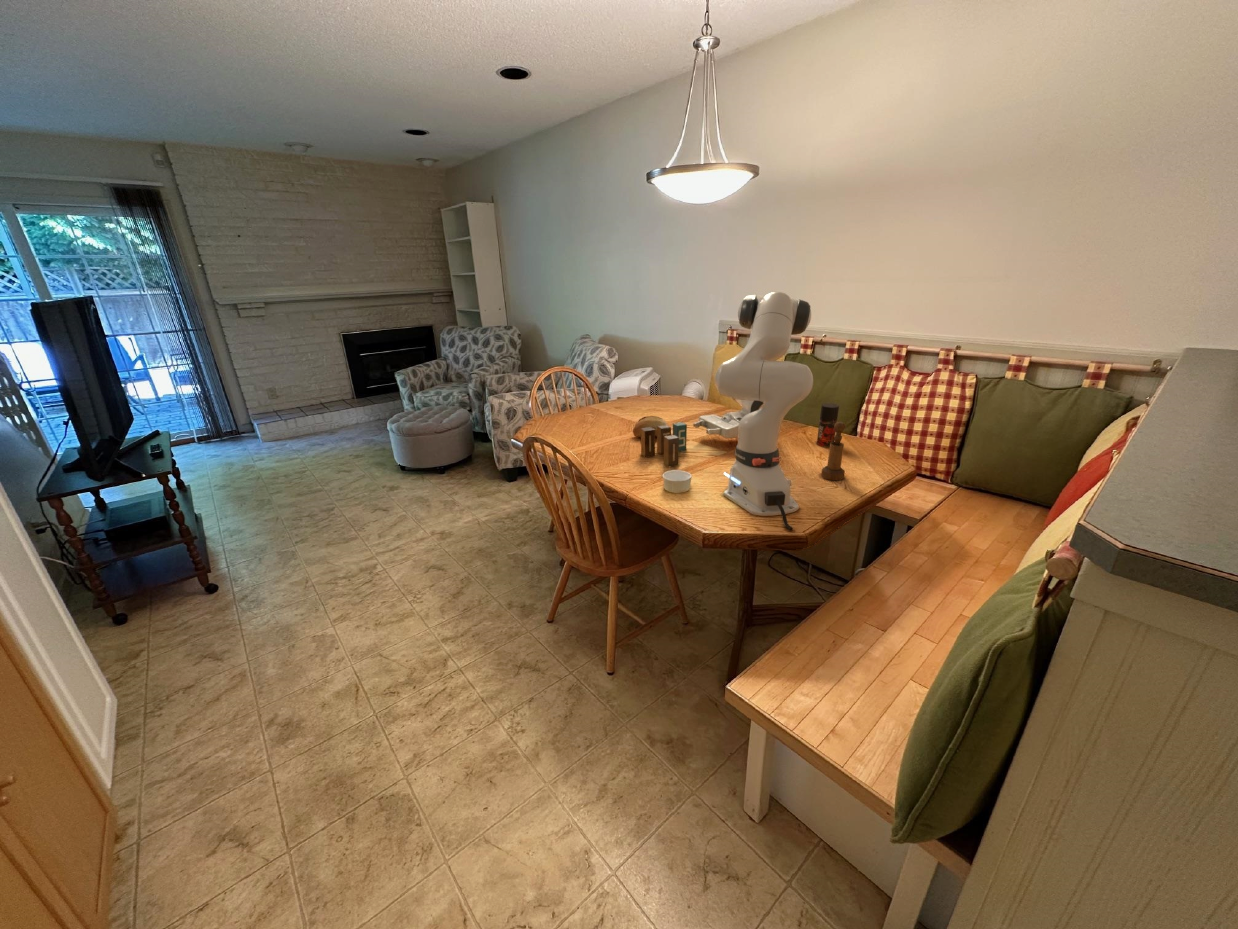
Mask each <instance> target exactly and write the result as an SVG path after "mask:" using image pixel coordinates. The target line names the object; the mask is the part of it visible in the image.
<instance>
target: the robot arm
mask: <svg viewBox="0 0 1238 929" xmlns="http://www.w3.org/2000/svg"><path fill="white" fill-rule="evenodd" d="M737 319H738V324H739V325H740V326H741V327H742V328H744V329H747V330H751V332H750V335H749V338H748V341H747V343H746V344H745V346H744V348H743V349H742V350H740V352H739V353H737V354H735V356H733V357H732V358H730V359H728V360H725V361H723V362H722V363H721V364H720V365H719V366H718V368H717V370H716V372H715V375H714V385H715V388H716V390H717V392H718V394H719V395H720V396H723V397H725V398H728V399H729V398H730V399H732V400H733V401H735V402H736V403H737V404H738V405H739V406H740V407H741V410H737V411H731V412H726V413H724V414H723V416H719V415H717V414H706V415H705V414H704V415H700V416H698V421H694V422H693V426H692V427H693V428H695V429H698V428H700V427H702V428H705V429H706V432H705V433H706V434H707V435H709V436H710V435H717V436H718V435H719V436H721V438H724V439H735V438H737V445H736V446H735V450H734V458H735V461H734V463H733V464H732V466H731V467H730V471H729V474H728V473H726V472H724V473H723V475H725V476H726V477H727V478H728V484H727V488H726V489H725V490H724V491H723V496H724V497H726V498H727V499H729V500H731V501H732V503H735V504H736V505H738V507H741V508H742V509H743V510H745V511H747V512H748V513H750V514H751V515H753V516H759V517H760V516H761V517H771V516H772V517H773V516H781V518H782V523H783V524H784V526H785V528H786V529H787V530H788V531H790V532H791V531H794V528H793V527H792V526H791V525H790V523H788V520H787V516H786V515H787V514H792V513H795V512H797V511H798V510H799V508H800V506H799V504H798V503H797V502H796V500H795V498H793V496H792V493H791V492H792V491H791V489H792V488H791V487H792V484H793V483H792V479H790V478H787V477H786V475H785V470H783V469H782V467H781V465H780V462H781V458H782V457H781V456H780V451H779V450H780V449H779V447H778V444H779V437H780V430H781V425H782V423H783V421H784V419H785V417H786V415H787V414H788V412H789V411H790V410H791V409H792V408H793V407H795V406H796V405H797V404H799V403H801V402H802V401H804V400H805V399H806V398H807V397H809V395H810V393H811V391H812V390H813V386H814V376H813V373H812V370H811V368H810V367H809V366H808V365H807V364H804V363H799V362H795V361H792V360H791V361H790V360H780V359H781V358H783V357H784V356H785V354H787V352H788V350H789V349H790V344H791V338H792V335H793V336H795V335H801V334H802V333H804V332H805V331H806V330H807V328H808V327H809V325H810V323H811V320H812V308H811V305H810V302H808V301H806V300H803V299H794V298H791V297H790V295H788V294H787V293H786V292H782V291H772V292H769V293H767V294H765V295H757V294H749V295H746V296H745V297H744V298H742V301H741V303H740V304H739V306H738V309H737Z"/></svg>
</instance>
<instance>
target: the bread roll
mask: <svg viewBox="0 0 1238 929" xmlns="http://www.w3.org/2000/svg"><path fill="white" fill-rule="evenodd" d="M661 425H668V424H667V422H666V420H664V419H663V418H662V417H660V416H656V415H651V416H650V415H649V416H643V417H641V418H640V419H638V421H636V423H635V425H634V427H633V430H632V435H633V436H635V437H638V438H639V437H640V438H641V428H648V427H651V428H653V429H655V437H657V426H661Z"/></svg>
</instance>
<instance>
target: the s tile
mask: <svg viewBox="0 0 1238 929" xmlns="http://www.w3.org/2000/svg"><path fill="white" fill-rule="evenodd" d="M687 431H688V425H687V424H686V423H685V422H683V421H681V422H674V423H672V435H675V436H677V437H679V452H682V451H683V452H684V451H687V440H688V439H687V438H688V437H687V434H688V432H687Z"/></svg>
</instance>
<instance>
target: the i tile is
mask: <svg viewBox="0 0 1238 929" xmlns="http://www.w3.org/2000/svg"><path fill="white" fill-rule="evenodd" d="M679 456H680V451H679V437H677V436H675V435H673V434H671V435H670V436H664V454H663V464H664V465H665V466H666V467H668V468H670V467H675V466H679V465H680V462H679V461H680V457H679Z"/></svg>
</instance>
